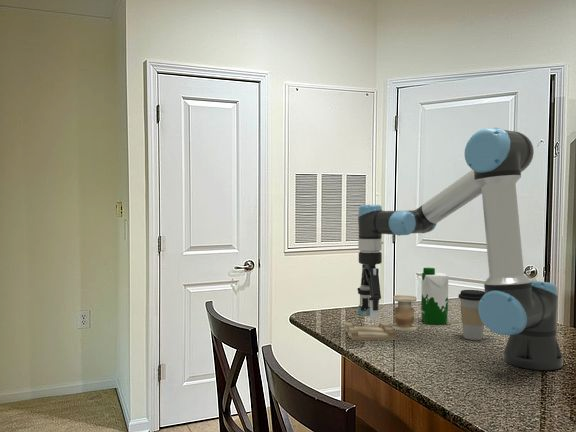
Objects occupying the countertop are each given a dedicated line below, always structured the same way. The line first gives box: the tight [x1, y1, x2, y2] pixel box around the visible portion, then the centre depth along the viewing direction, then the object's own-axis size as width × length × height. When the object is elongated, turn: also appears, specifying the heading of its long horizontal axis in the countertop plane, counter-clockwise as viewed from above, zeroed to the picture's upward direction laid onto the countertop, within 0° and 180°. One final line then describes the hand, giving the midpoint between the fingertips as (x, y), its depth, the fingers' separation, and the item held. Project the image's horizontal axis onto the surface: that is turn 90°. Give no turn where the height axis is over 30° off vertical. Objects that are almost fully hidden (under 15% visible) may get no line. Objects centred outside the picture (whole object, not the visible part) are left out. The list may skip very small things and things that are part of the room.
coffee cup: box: [457, 289, 485, 341], centre depth 179 cm, size 9×9×15 cm
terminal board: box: [344, 321, 397, 341], centre depth 182 cm, size 14×14×3 cm
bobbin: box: [390, 294, 418, 332], centre depth 190 cm, size 9×9×11 cm
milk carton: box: [420, 267, 449, 326], centre depth 198 cm, size 9×9×20 cm
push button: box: [357, 284, 371, 317], centre depth 185 cm, size 7×5×10 cm
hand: (370, 316), depth 181 cm, fingers open, 13 cm apart
